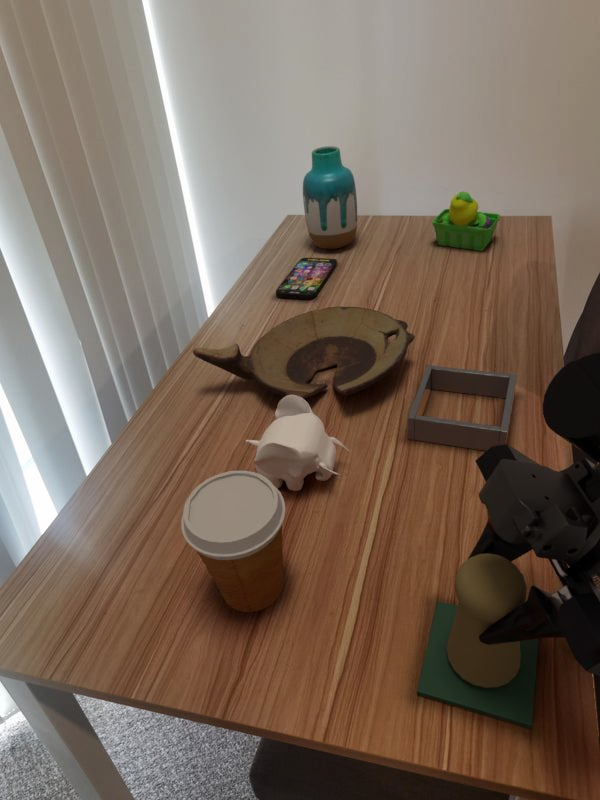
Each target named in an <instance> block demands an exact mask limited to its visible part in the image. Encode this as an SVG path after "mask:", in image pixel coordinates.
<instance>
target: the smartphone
mask: <svg viewBox="0 0 600 800" xmlns="http://www.w3.org/2000/svg"><path fill="white" fill-rule="evenodd" d="M337 264H338V261H337V259H336V258H323V257H302V258H301V259H299V260H298V262H297V263H296V264H295V265H294V266H293V268H292V269H291V271H290V272H289V273H288V274H287V276H286V277H285V278H284V280H283V281H282V282H281V283H280V284H279V286H278V287H277V289H276V290H275V295H276V297H277V298H282V299H297V300H312V299H314V298H315V297H316V296H317V294H318V293H319V292H320V290H321V289H322V288H323V286H324V284H325V283H326V281H327V280H328V279H329V277H330V275H331V274H332V273H333V272H334V269H335V268H336V266H337Z"/></svg>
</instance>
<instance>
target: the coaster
mask: <svg viewBox="0 0 600 800" xmlns="http://www.w3.org/2000/svg"><path fill="white" fill-rule="evenodd" d="M457 608H458V604H453V603H448V602H444V601H440V600H437V601H436V605H435V609H434V614H433V618H432V623H431V628H430V633H429V636H428V641H427V645H426V649H425V654H424V659H423V663H422V667H421V672H420V676H419V679H418V685H417V690H416V694H417V696H421V697H424V698H427V699H431V700H433V701H437V702H440V703H444V704H447V705H449V706H453V707H457V708H460V709H464V710H466V711H470V712H473V713H477V714H480V715H483V716H485V717H490V718H493V719H496V720H500V721H504V722H507V723H511V724H512V725H516V726H520V727H523V728H526V729H530V730H531V729H532V726H533V716H534V703H535V691H536V676H537V664H538V652H539V639H532V640H524V641H520V653H521V660H520V668H519V670H518V672H517V674H516V676H515V677H514V678H513V679H512V680H511V681H510V682H508V683H507V684H504V685H502V686H499V687H488V688H485V687H481V686H477V685H473V684H472V683H470V682H468V681H466V680H465V679H463V678H462V677H461V676H460V675H459V674H458V673H457V672H456V671H455V670H454V669H453V667H452V665H451V663H450V661H449V659H448V654H447V644H448V639H449V635H450V632H451V629H452V625H453V622H454V619H455V615H456V612H457Z"/></svg>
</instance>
